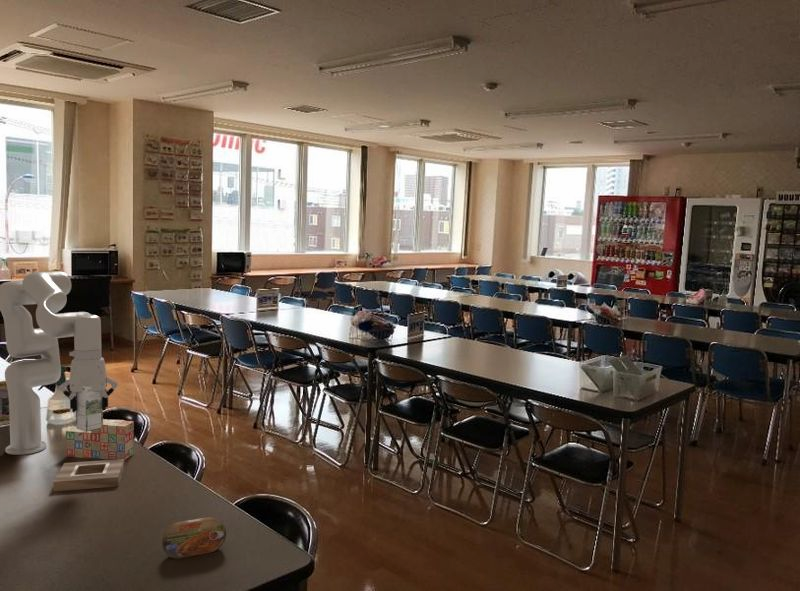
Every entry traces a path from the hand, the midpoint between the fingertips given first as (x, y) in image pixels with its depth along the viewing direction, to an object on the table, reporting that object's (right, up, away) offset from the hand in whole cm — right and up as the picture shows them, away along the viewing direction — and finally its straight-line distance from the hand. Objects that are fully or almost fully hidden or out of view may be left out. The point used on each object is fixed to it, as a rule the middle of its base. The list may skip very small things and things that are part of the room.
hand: (89, 409), depth 203 cm
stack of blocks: (-7, -20, +23) cm, 32 cm away
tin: (+46, -28, -42) cm, 68 cm away
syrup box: (0, -6, +1) cm, 6 cm away
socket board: (-1, -22, +2) cm, 22 cm away
